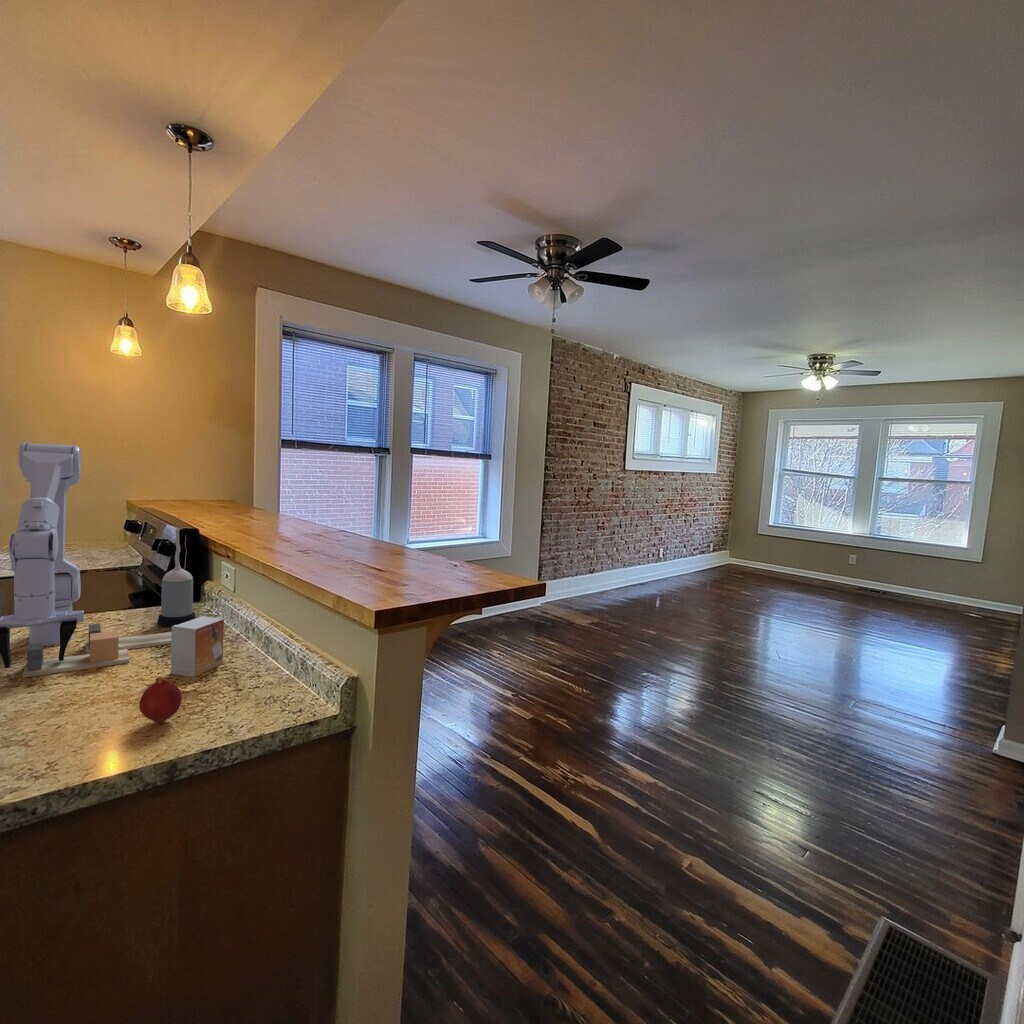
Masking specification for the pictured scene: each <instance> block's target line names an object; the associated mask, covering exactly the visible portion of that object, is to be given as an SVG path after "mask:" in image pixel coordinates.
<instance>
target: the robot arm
mask: <svg viewBox="0 0 1024 1024" xmlns="http://www.w3.org/2000/svg"><path fill="white" fill-rule="evenodd" d="M17 452H18V454H17V455H18V457H17V458H18V460H17V461H18V467H19V469H20V470H21V474H22V476H23V478H24V479H25V482H27V483H30V495H29V496H30V499H26V500H25V501H23V503H22V504H21V506H20V511H19V517H18V521H17V527H16V530H15V531H16V532H15V533H11V535H10V537H9V541H8V552H9V557H10V562H11V565H10V567H11V571H12V572H13V594H14V596H13V598H14V600H13V602H14V614H11V615H10V614H9V615H3V616H0V656H1V659H2V662H3V666H4V669H9V668H11V665H12V655H11V647H10V646H11V645H10V644H11V643H10V642H11V641H10V639H11V629H16V628H26V627H27V628H28V627H29V628H28V631H29V632H28V633H29V637H28V638H29V640H28V641H29V643H31V642H40V641H43V647H44V646H52V645H53V646H55V645H59V653H58V658H59V661H63V660H64V657H65V653H66V650H67V646H68V644H69V642H70V641H71V640H72V639H73V634H74V632H75V630H76V629H77V625H78V624H77V623H84V622H85V618H84V617H85V613H84V611H85V610H84V609H83V610H73V603H74V602H77V601H79V599H80V597H81V591H82V589H81V587H82V584H81V583H82V581H81V580H82V579H81V570H80V568H79V566H78V565H76V564H75V563H73V562H71V561H70V560H67V559H66V557H65V554H66V552H65V551H66V519H67V517H66V516H67V514H66V513H67V495H68V492H69V489H70V487H71V486H74V485H77V484H79V482H80V480H81V472H82V471H81V467H82V449H81V448H80V447H79V446H78V445H74V444H73V445H64V444H63V445H62V444H50V443H49V444H48V443H47V444H46V443H34V442H33V443H30V442H28V441H27V442H26V441H24V442H22V443H21V444H20V445H19V447H18V451H17ZM55 573H65V574H55ZM29 643H28V644H29Z"/></svg>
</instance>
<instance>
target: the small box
mask: <svg viewBox="0 0 1024 1024" xmlns="http://www.w3.org/2000/svg"><path fill="white" fill-rule="evenodd" d="M224 628H225V620H224V619H223V618H219V617H217V618H216V617H212V616H211V617H210V616H206V615H202V616H201V615H200V616H198V617H196V619H193V620H190V621H187V622H184V623H181V624H178V625H174V626H172V628H171V632H172V636H171V644H170V645H171V646H170V674H173V675H178V676H185V677H189V678H190V677H191V678H196V677H197V676H200V675H201V674H204V673H206V672H208V671H210V670H213V669H214V668H217V667H219V666H221V665H223V664H224V663H223V662H224V636H225V635H224V630H225V629H224Z"/></svg>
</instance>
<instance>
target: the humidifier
mask: <svg viewBox="0 0 1024 1024" xmlns="http://www.w3.org/2000/svg"><path fill="white" fill-rule="evenodd" d="M184 541H185V542H184V544H186V543H187V536H185V540H184ZM175 547H176V550H175V552H174V553H175V555H174V562H175V566H174V568H173V569H171V570H170V571H168V572H166V573H165V574H164V575H163V576H162V579H161V609H160V611H161V612H160V613H161V614H159V615H158V619H157V622H156V623H157V626H159V627H162V628H171V629H172V626H174V625H178V624H181V623H184V622H187V621H190V620H193V619H196V618H197V615H196V613H195V612H194V611H193V610H194V608H193V607H194V606H193V605H194V577H193V575H192V574H191V573H190V572H189V571H187V570H186V569H185V568H186V561H187V552H188V549H187V547H186V546H184V547H185V550H186V551H185V555H184V556H185V557H184V559H185V560H184V568H182V566H181V564H180V553H181V545H180V528H175Z"/></svg>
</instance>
